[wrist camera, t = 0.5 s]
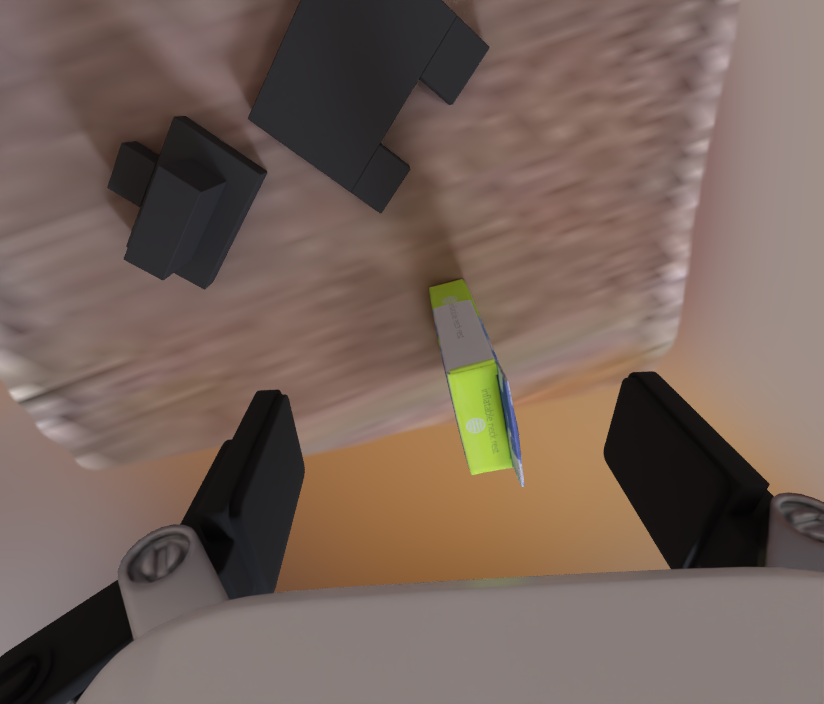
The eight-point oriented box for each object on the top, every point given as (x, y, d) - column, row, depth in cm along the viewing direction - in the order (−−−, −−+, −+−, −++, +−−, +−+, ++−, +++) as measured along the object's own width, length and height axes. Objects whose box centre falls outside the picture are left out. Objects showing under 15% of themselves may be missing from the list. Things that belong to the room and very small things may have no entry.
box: (426, 286, 40) (444, 390, 25) (467, 275, 39) (510, 375, 25) (448, 372, 45) (474, 500, 30) (484, 363, 45) (529, 489, 30)
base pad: (346, -83, 26) (343, -96, 25) (484, 50, 30) (490, 47, 29) (255, 118, 32) (247, 118, 30) (381, 209, 36) (381, 213, 34)
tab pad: (152, 92, 31) (93, 88, 25) (267, 171, 34) (240, 184, 28) (108, 223, 36) (49, 246, 30) (213, 282, 39) (179, 313, 33)
